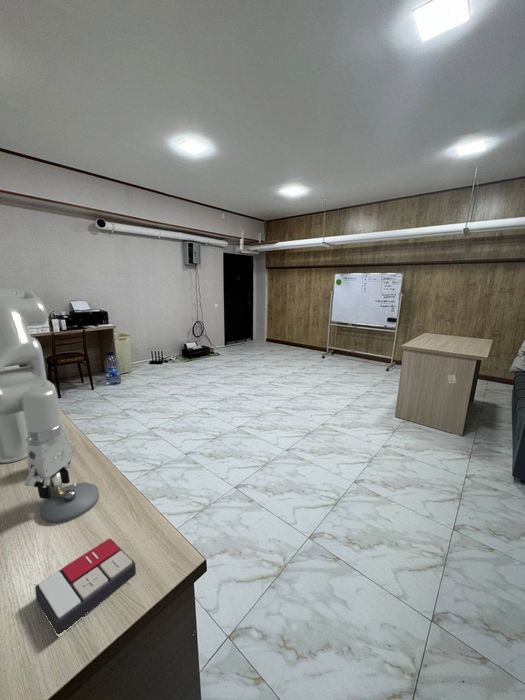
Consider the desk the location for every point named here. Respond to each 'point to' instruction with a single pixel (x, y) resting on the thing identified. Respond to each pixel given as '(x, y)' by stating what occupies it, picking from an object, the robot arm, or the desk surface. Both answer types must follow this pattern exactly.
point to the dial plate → (70, 503)
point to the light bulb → (60, 487)
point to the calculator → (84, 584)
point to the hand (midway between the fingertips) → (55, 489)
